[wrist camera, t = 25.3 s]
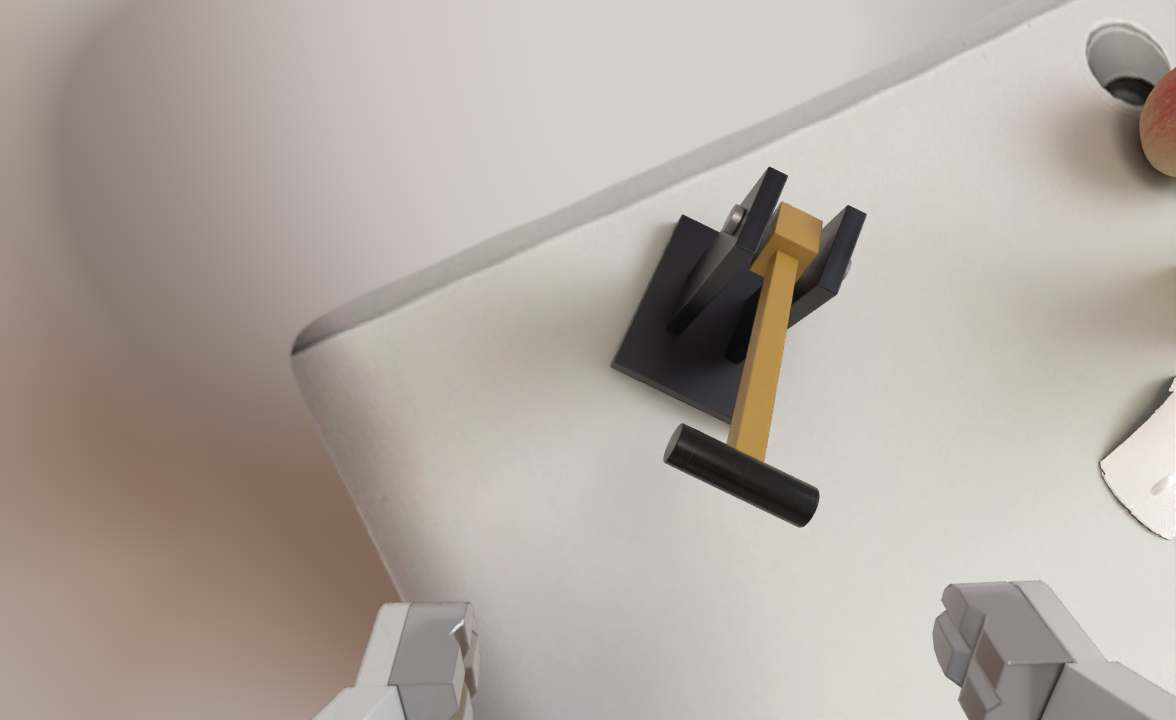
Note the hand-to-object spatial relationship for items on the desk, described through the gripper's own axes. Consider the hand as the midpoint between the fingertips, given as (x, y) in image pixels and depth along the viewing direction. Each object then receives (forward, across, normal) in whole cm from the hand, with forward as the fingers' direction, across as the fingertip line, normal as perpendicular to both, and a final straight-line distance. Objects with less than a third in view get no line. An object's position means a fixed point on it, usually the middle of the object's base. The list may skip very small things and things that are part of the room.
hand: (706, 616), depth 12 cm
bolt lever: (+17, +5, -4) cm, 18 cm away
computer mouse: (+29, +37, -20) cm, 51 cm away
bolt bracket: (+31, +6, -10) cm, 33 cm away
